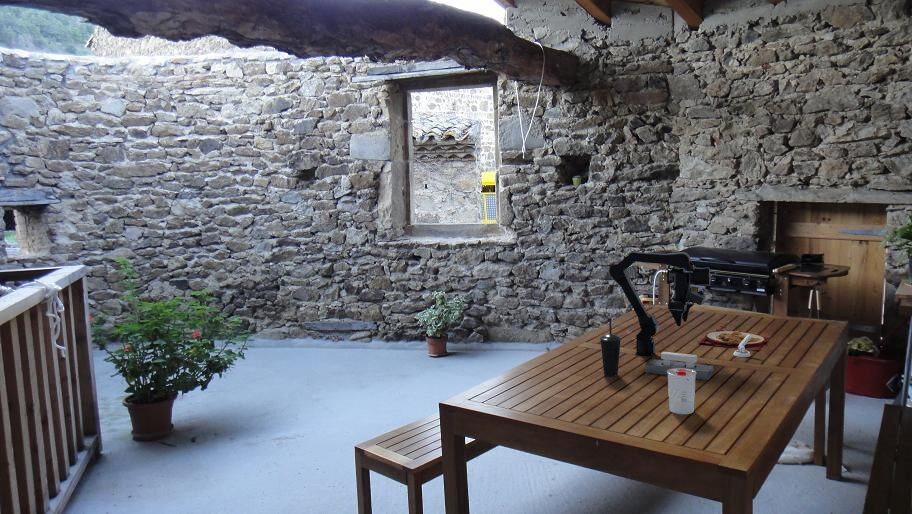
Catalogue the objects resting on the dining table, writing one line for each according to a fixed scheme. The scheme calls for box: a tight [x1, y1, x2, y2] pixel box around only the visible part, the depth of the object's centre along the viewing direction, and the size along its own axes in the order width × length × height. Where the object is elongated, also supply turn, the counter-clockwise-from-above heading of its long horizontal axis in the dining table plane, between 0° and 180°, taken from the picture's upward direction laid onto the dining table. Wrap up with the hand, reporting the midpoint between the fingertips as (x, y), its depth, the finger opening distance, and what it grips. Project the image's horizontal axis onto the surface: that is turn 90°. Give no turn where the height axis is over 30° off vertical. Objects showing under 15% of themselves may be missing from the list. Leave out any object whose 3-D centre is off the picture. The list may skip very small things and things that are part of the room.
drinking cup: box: [599, 319, 622, 377], centre depth 241 cm, size 8×8×20 cm
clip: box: [660, 351, 698, 369], centre depth 240 cm, size 12×3×7 cm, turn 57°
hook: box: [733, 334, 751, 358], centre depth 261 cm, size 6×10×6 cm
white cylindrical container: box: [667, 368, 696, 415], centre depth 201 cm, size 10×8×12 cm
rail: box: [644, 358, 714, 381], centre depth 240 cm, size 22×8×3 cm, turn 57°
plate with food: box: [697, 325, 770, 352], centre depth 284 cm, size 25×26×4 cm
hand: (682, 323), depth 262 cm, fingers open, 9 cm apart
